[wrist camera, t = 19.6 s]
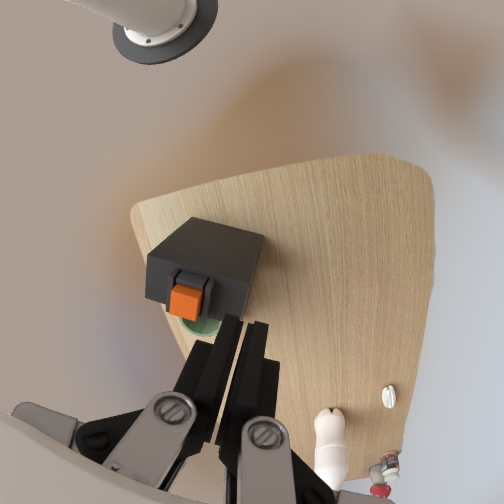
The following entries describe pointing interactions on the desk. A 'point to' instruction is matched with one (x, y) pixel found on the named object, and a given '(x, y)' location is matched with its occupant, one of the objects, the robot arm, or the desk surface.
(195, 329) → the cup
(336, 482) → the water bottle
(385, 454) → the pill bottle
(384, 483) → the decorative ornament
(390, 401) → the white oval pebble
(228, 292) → the coffee maker
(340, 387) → the desk surface
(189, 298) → the button
